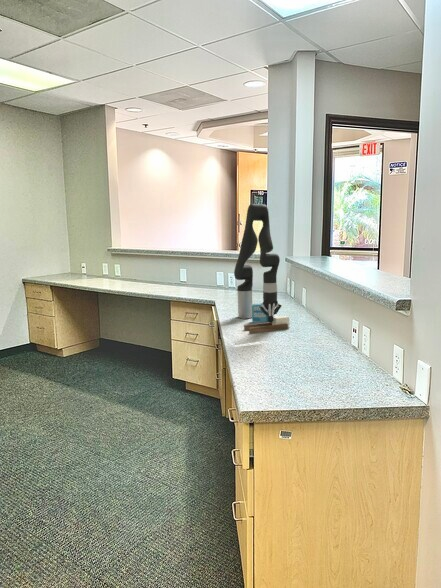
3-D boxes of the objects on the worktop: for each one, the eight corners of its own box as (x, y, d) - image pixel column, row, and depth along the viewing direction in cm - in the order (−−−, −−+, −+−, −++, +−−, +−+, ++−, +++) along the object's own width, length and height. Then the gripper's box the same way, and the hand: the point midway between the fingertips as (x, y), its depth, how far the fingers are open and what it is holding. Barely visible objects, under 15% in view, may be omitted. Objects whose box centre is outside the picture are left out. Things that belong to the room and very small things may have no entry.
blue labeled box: (252, 325, 247) (252, 304, 245) (252, 323, 251) (251, 303, 249) (273, 324, 246) (272, 304, 245) (272, 322, 251) (272, 302, 249)
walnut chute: (243, 331, 231) (243, 324, 231) (280, 327, 238) (280, 320, 238) (250, 336, 222) (250, 328, 221) (288, 331, 229) (288, 324, 228)
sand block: (272, 327, 234) (271, 316, 233) (285, 325, 236) (285, 315, 235) (276, 329, 229) (275, 318, 228) (289, 327, 231) (289, 317, 231)
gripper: (278, 289, 233) (278, 319, 236) (255, 290, 229) (256, 322, 232) (284, 290, 226) (284, 322, 229) (261, 292, 222) (262, 325, 225)
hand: (270, 322), depth 230 cm, fingers closed
